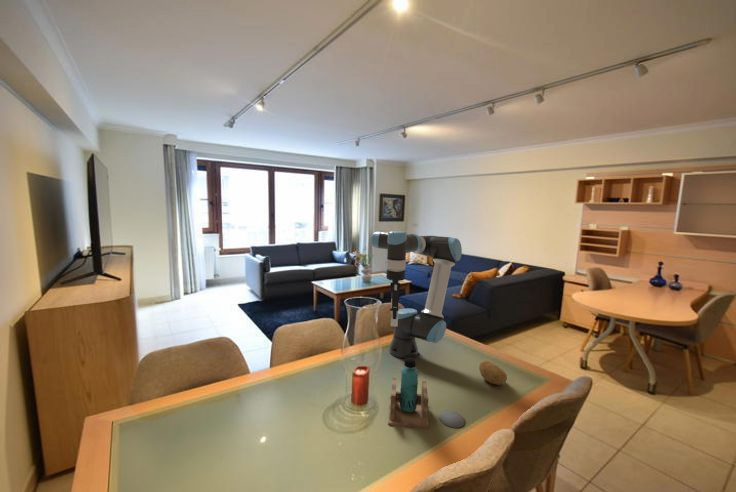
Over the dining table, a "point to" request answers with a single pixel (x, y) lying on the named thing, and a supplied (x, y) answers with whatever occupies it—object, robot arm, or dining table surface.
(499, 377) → the potato
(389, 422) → the holder
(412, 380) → the beverage bottle
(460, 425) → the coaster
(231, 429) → the dining table surface
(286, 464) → the dining table surface
